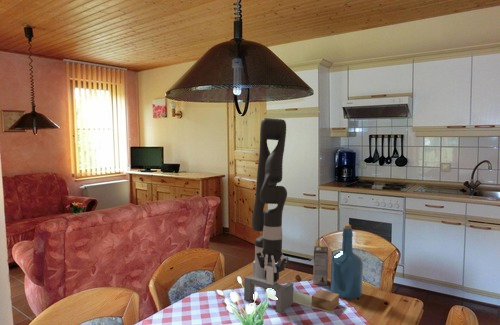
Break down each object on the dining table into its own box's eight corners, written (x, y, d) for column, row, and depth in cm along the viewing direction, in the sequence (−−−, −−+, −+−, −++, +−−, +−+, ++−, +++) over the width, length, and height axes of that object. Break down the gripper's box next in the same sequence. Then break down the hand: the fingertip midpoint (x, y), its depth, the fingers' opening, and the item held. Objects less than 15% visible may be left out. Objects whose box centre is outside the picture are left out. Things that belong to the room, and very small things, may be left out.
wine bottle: (344, 286, 161) (346, 220, 160) (368, 297, 150) (371, 226, 149) (322, 292, 154) (324, 223, 153) (346, 304, 143) (348, 229, 142)
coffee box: (313, 279, 170) (314, 245, 170) (327, 280, 169) (328, 246, 168) (312, 286, 161) (313, 251, 161) (327, 287, 160) (328, 252, 159)
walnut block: (311, 306, 138) (311, 295, 138) (319, 299, 145) (320, 289, 145) (331, 311, 134) (331, 301, 134) (338, 304, 140) (339, 294, 140)
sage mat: (283, 301, 144) (283, 299, 144) (294, 293, 152) (294, 291, 152) (330, 315, 133) (330, 312, 133) (339, 305, 141) (339, 303, 141)
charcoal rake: (239, 302, 143) (239, 262, 142) (252, 294, 151) (253, 256, 151) (280, 315, 132) (281, 272, 132) (292, 305, 141) (293, 265, 140)
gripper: (252, 235, 140) (251, 279, 141) (283, 241, 132) (282, 287, 133) (262, 232, 146) (261, 273, 147) (293, 237, 139) (292, 281, 139)
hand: (271, 280), depth 140 cm, fingers closed on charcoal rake, 3 cm apart
